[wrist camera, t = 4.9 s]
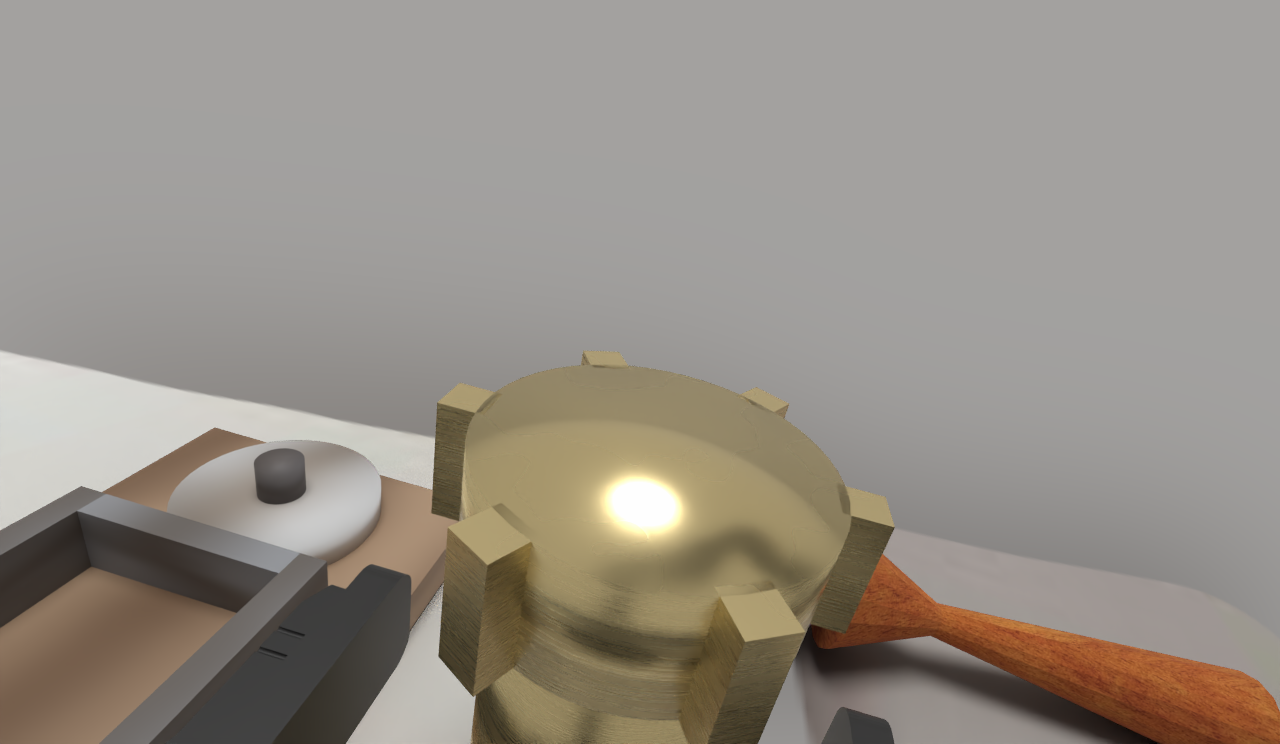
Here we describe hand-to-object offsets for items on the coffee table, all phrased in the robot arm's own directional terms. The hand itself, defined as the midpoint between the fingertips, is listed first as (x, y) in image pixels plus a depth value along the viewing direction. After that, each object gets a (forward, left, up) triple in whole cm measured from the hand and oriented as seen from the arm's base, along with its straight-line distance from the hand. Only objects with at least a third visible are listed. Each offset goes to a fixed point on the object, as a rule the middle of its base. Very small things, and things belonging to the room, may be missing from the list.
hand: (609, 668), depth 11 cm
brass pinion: (0, 0, -7) cm, 7 cm away
